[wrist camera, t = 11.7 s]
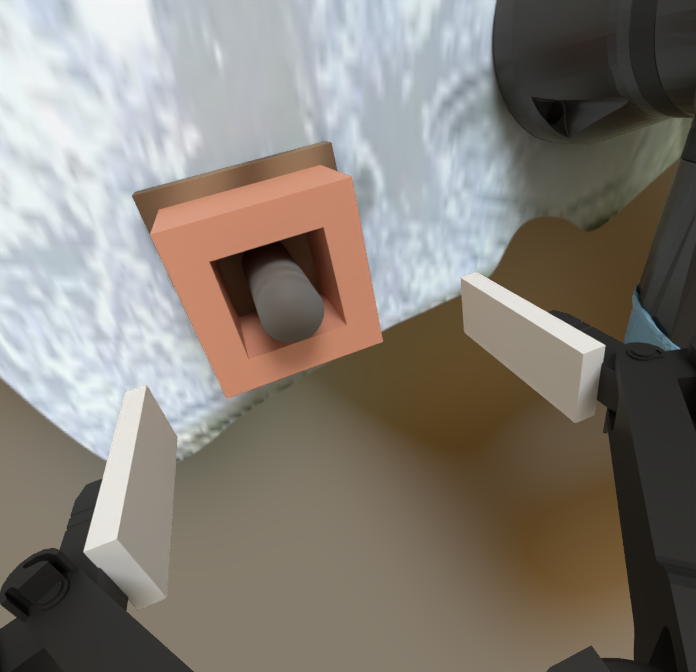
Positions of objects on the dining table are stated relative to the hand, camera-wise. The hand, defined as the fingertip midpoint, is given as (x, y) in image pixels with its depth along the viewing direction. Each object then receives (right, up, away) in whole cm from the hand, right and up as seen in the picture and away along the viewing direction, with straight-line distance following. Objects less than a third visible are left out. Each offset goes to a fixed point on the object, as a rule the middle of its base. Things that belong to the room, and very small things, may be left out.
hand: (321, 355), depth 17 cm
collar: (-4, +6, +11) cm, 13 cm away
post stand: (-5, +6, +12) cm, 14 cm away
